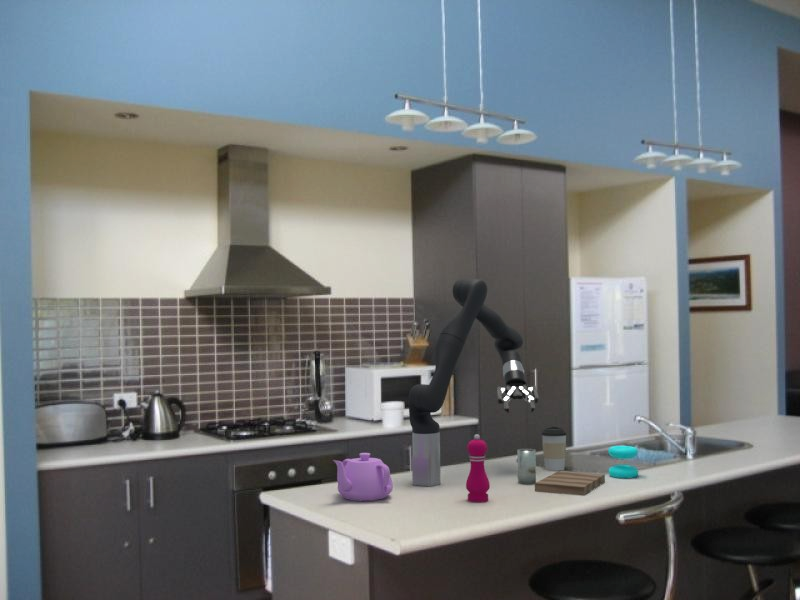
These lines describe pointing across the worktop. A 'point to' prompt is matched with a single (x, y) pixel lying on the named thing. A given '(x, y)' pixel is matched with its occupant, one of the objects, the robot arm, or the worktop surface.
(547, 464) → the coffee cup
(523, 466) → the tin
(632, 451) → the pair of cyan discs
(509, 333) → the robot arm
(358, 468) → the teapot
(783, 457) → the worktop surface
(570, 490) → the board
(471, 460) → the pepper mill
